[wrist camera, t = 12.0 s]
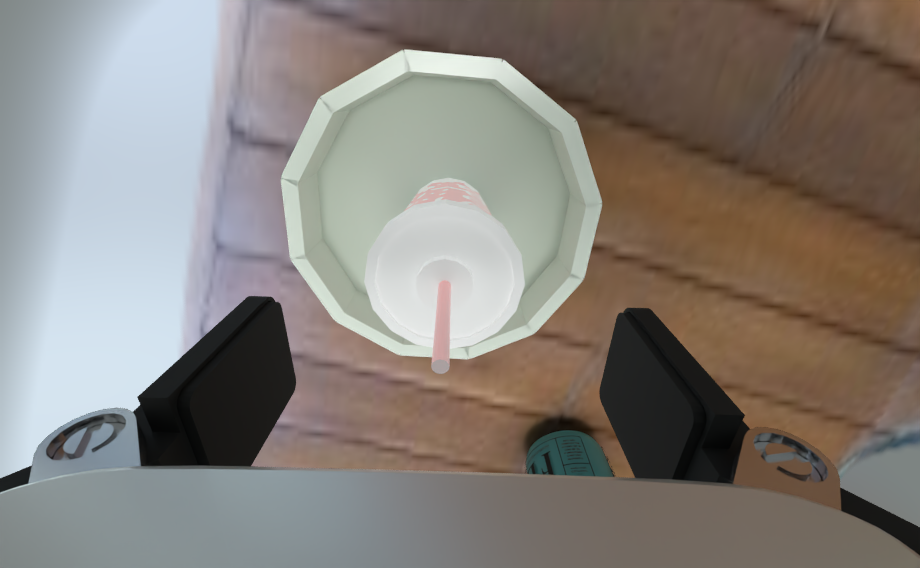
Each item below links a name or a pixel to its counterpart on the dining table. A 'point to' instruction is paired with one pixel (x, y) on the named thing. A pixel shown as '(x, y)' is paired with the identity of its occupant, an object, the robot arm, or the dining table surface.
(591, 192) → the bowl
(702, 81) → the dining table surface
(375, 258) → the beverage cup
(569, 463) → the beverage bottle
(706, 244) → the dining table surface
